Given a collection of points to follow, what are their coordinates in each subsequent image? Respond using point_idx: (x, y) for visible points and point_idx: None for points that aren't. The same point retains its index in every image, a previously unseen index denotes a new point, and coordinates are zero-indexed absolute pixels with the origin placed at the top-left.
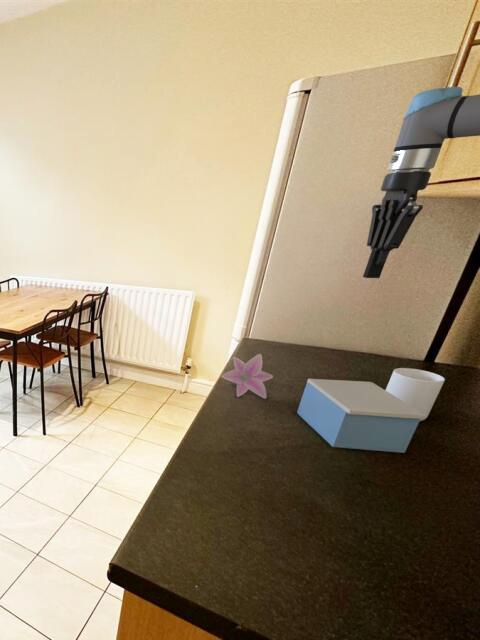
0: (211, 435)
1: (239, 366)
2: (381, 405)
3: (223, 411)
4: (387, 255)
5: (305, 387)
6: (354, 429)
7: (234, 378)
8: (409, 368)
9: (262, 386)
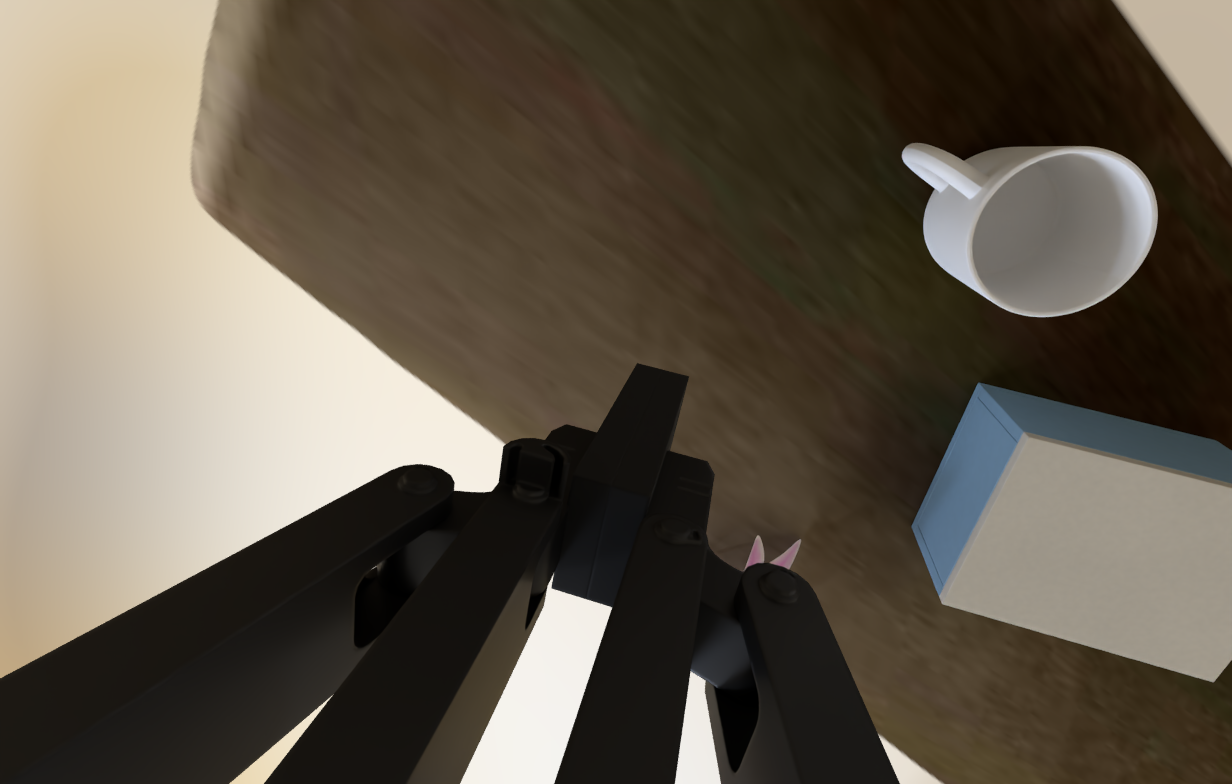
0: (982, 778)
1: None
2: (1220, 577)
3: (863, 684)
4: (705, 516)
5: (934, 582)
6: None
7: None
8: (980, 203)
9: (778, 560)
